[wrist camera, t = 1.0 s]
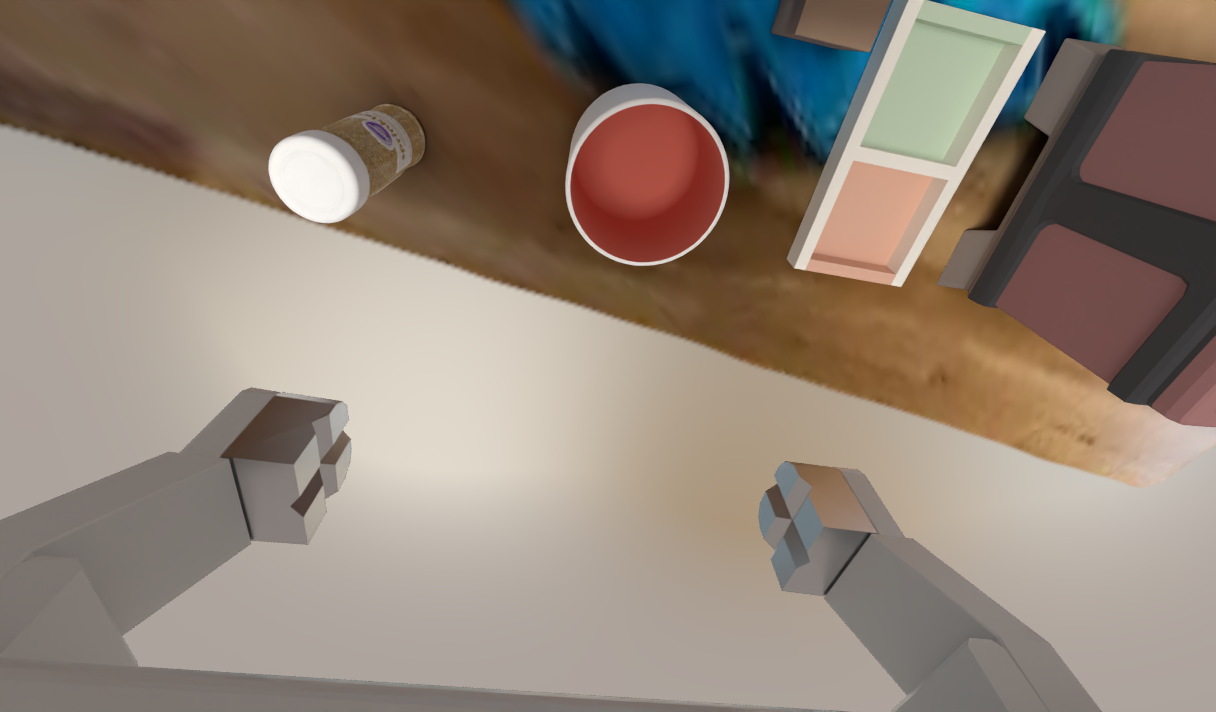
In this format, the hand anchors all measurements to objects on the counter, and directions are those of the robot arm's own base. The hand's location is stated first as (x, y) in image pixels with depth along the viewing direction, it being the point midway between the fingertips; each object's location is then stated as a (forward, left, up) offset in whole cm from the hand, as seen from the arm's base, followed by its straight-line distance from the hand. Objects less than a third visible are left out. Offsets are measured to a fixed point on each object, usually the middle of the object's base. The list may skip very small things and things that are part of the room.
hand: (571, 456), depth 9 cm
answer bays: (-3, +24, -34) cm, 42 cm away
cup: (+1, +4, -34) cm, 34 cm away
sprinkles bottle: (+3, -14, -34) cm, 37 cm away
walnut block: (-11, +14, -34) cm, 38 cm away
